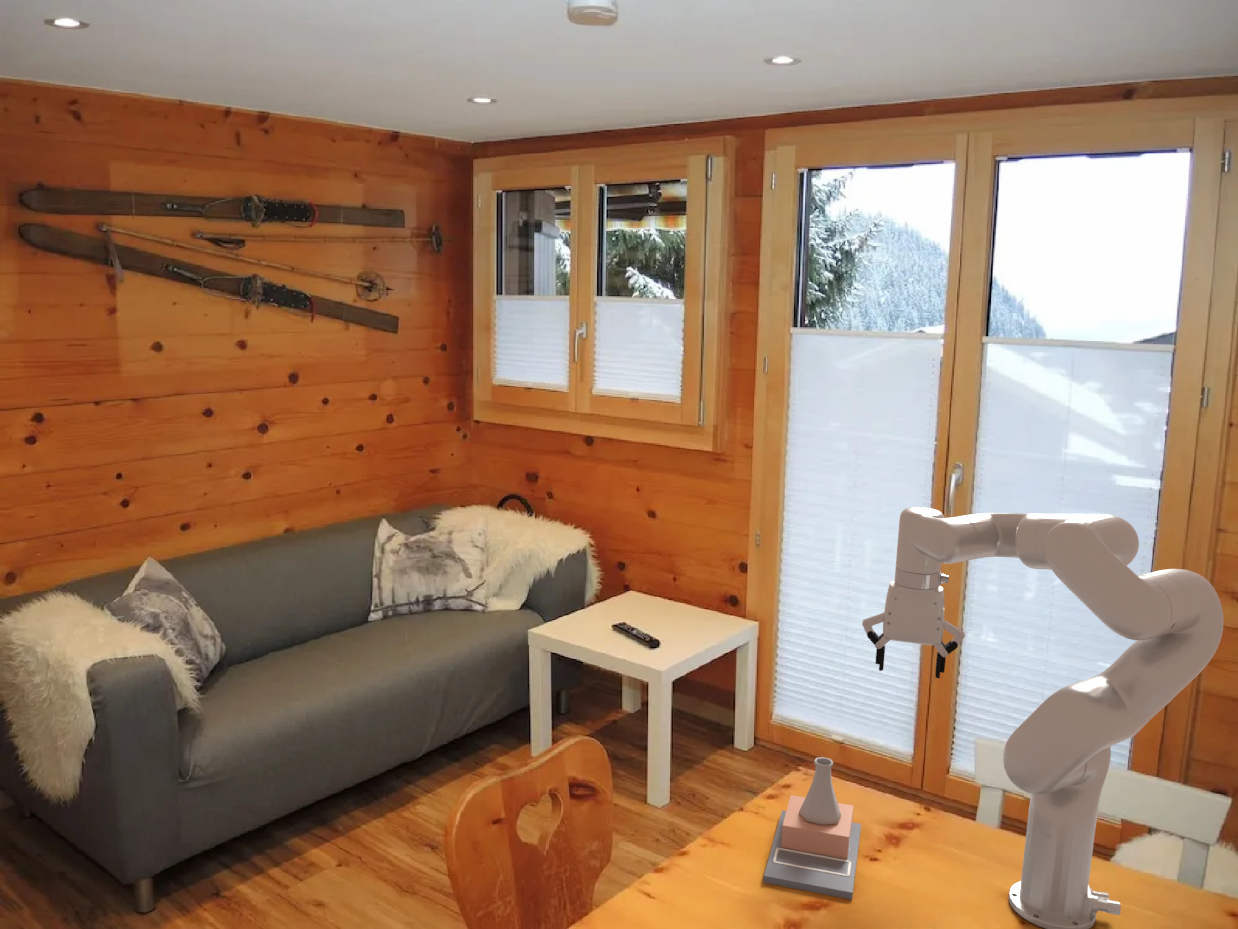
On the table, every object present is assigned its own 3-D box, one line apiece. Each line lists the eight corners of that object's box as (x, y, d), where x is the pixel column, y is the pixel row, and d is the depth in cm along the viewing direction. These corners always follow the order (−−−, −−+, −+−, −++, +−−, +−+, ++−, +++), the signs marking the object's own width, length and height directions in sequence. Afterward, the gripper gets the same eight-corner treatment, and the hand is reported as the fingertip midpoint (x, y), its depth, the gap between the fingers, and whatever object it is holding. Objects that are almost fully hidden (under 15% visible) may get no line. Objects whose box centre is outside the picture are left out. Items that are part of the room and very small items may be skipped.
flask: (796, 803, 179) (800, 750, 177) (838, 806, 178) (842, 753, 176) (800, 824, 172) (804, 769, 170) (843, 828, 171) (848, 772, 169)
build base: (860, 830, 180) (862, 803, 180) (852, 899, 160) (854, 869, 159) (781, 816, 184) (783, 789, 183) (763, 882, 164) (765, 853, 163)
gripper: (968, 578, 178) (959, 671, 181) (867, 567, 183) (860, 658, 186) (970, 590, 171) (961, 686, 174) (865, 578, 175) (857, 672, 178)
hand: (909, 672), depth 180 cm, fingers open, 9 cm apart
